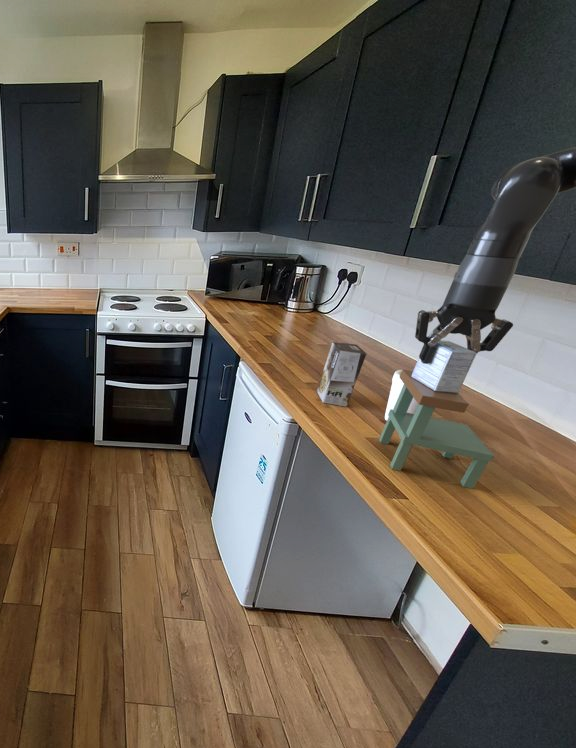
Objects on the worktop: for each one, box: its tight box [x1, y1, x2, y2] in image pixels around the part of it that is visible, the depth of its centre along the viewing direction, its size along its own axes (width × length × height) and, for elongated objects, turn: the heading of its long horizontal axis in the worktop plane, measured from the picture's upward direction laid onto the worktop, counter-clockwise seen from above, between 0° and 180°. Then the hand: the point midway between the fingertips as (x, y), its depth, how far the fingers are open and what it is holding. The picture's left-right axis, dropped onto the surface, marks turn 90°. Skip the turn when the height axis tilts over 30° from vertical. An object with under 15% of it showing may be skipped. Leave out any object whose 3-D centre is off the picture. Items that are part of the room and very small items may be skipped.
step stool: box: [378, 369, 495, 490], centre depth 86 cm, size 14×16×18 cm
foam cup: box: [384, 369, 419, 422], centre depth 104 cm, size 10×9×13 cm
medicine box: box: [412, 339, 477, 393], centre depth 81 cm, size 8×4×9 cm, turn 170°
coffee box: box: [316, 341, 367, 408], centre depth 115 cm, size 9×6×16 cm
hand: (442, 365), depth 81 cm, fingers closed on medicine box, 5 cm apart
